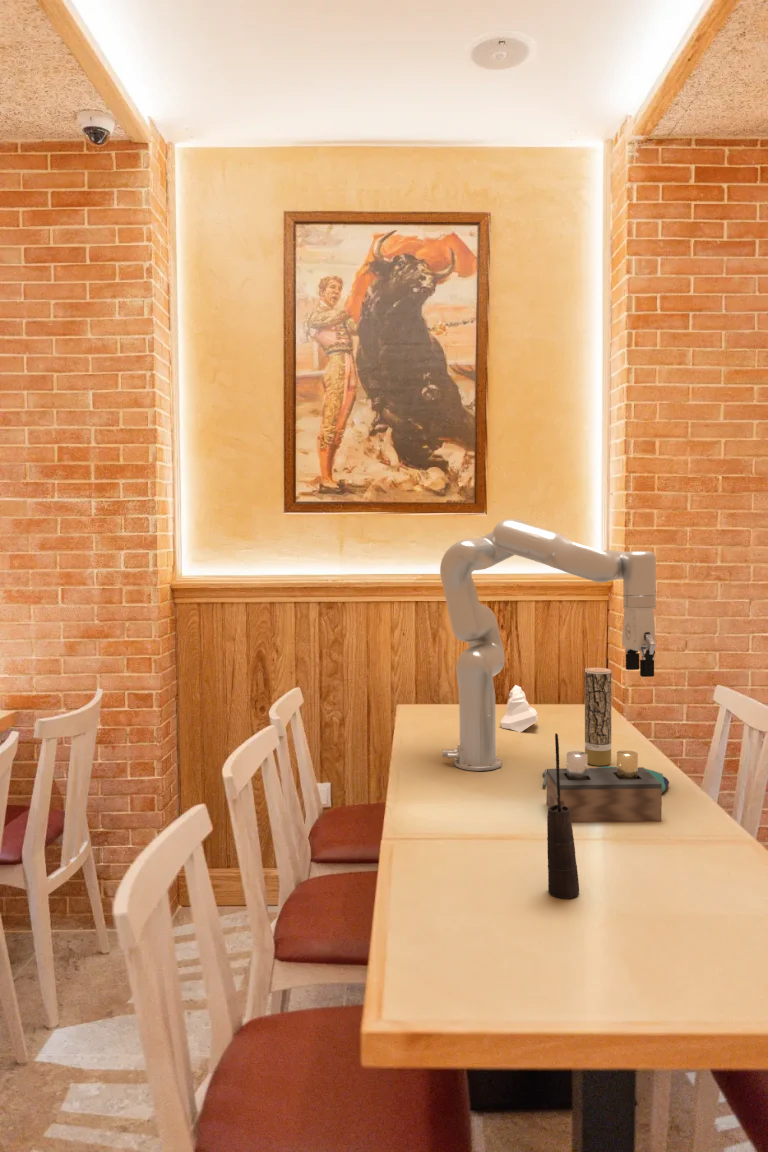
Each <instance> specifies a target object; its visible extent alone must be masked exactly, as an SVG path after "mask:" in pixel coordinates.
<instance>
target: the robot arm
mask: <svg viewBox="0 0 768 1152" xmlns="http://www.w3.org/2000/svg"><path fill="white" fill-rule="evenodd" d="M513 556H518V557H520V558H525V559H528V560H531V561H534V562H537V563H540V564H542V565H546V566H549V567H550V568H553V569H557V570H560V571H562V572H565V573H568V574H571V575H573V576H576V577H580V578H582V579H586V580H588V581H592V582H595V583H601V584H602V583H608V582H611V581H616V580H623V581H622V584H623V586H622V589H623V590H622V592H623V593H622V594H623V595H622V596H623V598H622V599H623V600H622V606H623V607H622V608H623V609H624V611H623V616H622V617H623V619H622V637H621V638H622V639H621V640H622V641H621V642H622V645H623V647H624V648H625V651H624V652H625V669H626V670H628V671H637V670H639V676H640V677H642V678H649V677H652V678H653V677H655V658H656V656H655V655H656V651H655V649H656V646H657V645H656V625H655V624H656V623H655V612H654V610H656V609H657V557H656V555H655V553H654V552H653V551H649V550H631V551H619V550H609V549H608V550H601V549H597V548H593V547H590V546H587V545H583V544H581V543H577V542H574V541H572V540H570V539H568V538H567V537H565V536H564V535H563V534H561V533H559V532H557V531H554V530H549V529H547V528H543V527H539V526H536V525H533V524H529V523H528V522H526V521H525V520H523V519H519V518H518V519H517V518H507V519H503V520H501V521H499V522H497V524H496V525H495V527H494V528H493V531H491V532H489V533H487V534H485V535H483V536H481V537H478V538H465V539H462V540H459V541H456V542H455V543H453V544H452V545H451V546H450V547H449V548H447V550H446V551H445V553H444V554H443V556H442V559H441V562H440V568H439V569H440V571H439V575H440V579H441V585H442V588H443V593H444V597H445V602H446V607H447V612H448V617H449V620H450V626H451V630H452V632H453V635H454V636H455V638H456V639H457V640H459V641H460V642H466V643H468V648H466V649H465V650H464V651H462V652H461V653H460V655H459V656H458V658H457V661H456V667H455V669H456V679H457V685H458V701H459V702H458V708H459V709H458V710H459V711H458V712H459V744H458V745H457V747H454V748H453V749H450V748H449V749H448V748H446V749H445V748H444V749H442V750H441V751H442V752H441V753H442V757H444V758H445V757H447V759H453V765H454V766H456V767H457V768H459V769H461V770H465V771H473V772H474V771H477V772H484V771H492V770H496V769H499V768H501V767H502V762H503V761H502V759H501V758H499V757H498V756H497V755H496V753H497V752H496V750H497V749H496V747H497V745H496V744H497V743H496V740H497V739H496V737H497V736H496V733H497V731H496V728H497V727H496V726H497V725H496V692H495V685H494V677H495V676H497V675H498V674H499V673H501V671H503V668H504V666H505V661H506V656H505V649H504V646H503V641H502V637H501V633H500V632H501V631H500V629H499V624H498V620H497V618H496V615H495V613H494V612H493V610H492V609H491V608H490V607H488V606H487V605H486V604H482V603H480V599H479V595H478V591H477V586H476V584H475V581H474V579H473V578H472V573H473V572H474V571H481V570H486V569H488V568H492V567H494V566H495V565H498V564H499V563H501V562H503V561H505V560H507V559H509V558H511V557H513ZM638 652H639V653H638ZM640 658H641V659H640Z"/></svg>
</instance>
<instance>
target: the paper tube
mask: <svg viewBox="0 0 768 1152" xmlns="http://www.w3.org/2000/svg"><path fill="white" fill-rule="evenodd" d="M584 670H585V671H584V752H585V753H587V765H590V766H595V767H605V766H608V765H611V763H612V669H610V668H604V667H588V668H585V669H584Z"/></svg>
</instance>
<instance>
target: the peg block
mask: <svg viewBox="0 0 768 1152" xmlns="http://www.w3.org/2000/svg"><path fill="white" fill-rule="evenodd" d="M646 769H647V768H644V767H643V766H642V767H639V766H638V779H618V778H617V768H599V767H587V780H568V779H567V767H566V768H559V775H560V778H559V779H560V801H564V806H566V807H568V808H569V810H570V816H571V822H572V823H600V822H601V823H602V822H606V823H607V822H608V823H609V822H611V823H612V822H614V823H617V822H662V810H663V809H662V807H663V806H662V804H663V803H662V802H663V801H662V794H663V792H662V784H661V783H660V782H659V781H658V780H657V779H656V778H655V777H653V776H652V775H651V774H650V773H649V772H648V771H647V770H646ZM546 772H547V783H546V805H547V806H548V808H549V807H550V806H554V805H558V802H557V797H558V795H557V774H556V773H557V772H556V768H546ZM564 806H563V807H564Z"/></svg>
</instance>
